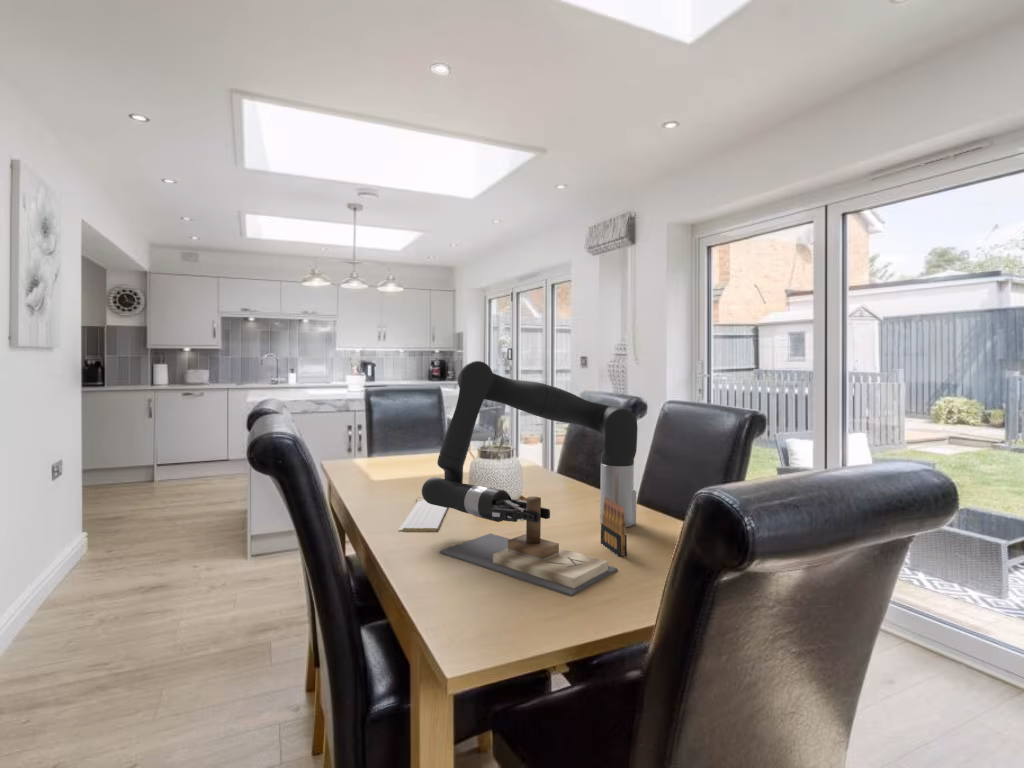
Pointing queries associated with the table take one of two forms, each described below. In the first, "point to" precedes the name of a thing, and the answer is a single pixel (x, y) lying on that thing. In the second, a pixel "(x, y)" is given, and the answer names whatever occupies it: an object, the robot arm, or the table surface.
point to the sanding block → (533, 538)
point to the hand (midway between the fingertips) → (543, 515)
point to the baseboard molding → (424, 517)
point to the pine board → (555, 566)
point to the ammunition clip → (614, 528)
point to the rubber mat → (482, 555)
